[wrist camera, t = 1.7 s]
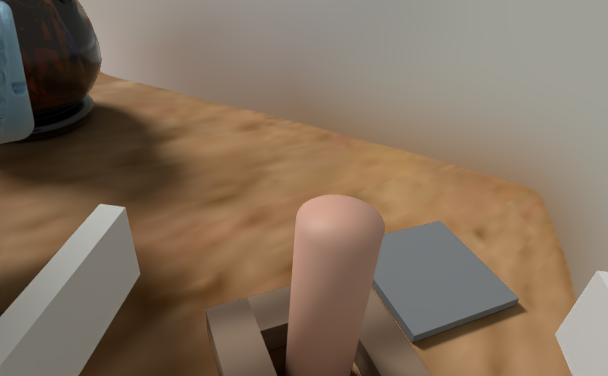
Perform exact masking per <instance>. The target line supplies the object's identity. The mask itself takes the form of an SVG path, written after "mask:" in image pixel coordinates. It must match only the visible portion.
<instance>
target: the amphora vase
mask: <svg viewBox="0 0 608 376" xmlns="http://www.w3.org/2000/svg"><path fill="white" fill-rule="evenodd" d="M0 1H3V2H5V3H6V4H8V5H9V6H10V8H11V10H12V14H13V19H14V23H15V28H16V33H17V38H18V43H19V48H20V53H21V58H22V63H23V68H24V74H25V79H26V84H27V89H28V94H29V99H30V104H31V109H32V113H33V118H34V129H33V131H32V133H31V134H30V135H29V136H28V137H26V138H24V139H22V140H18V141H24V140H35V139H42V138H47V137H51V136H55V135H59V134H61V133H64V132H67V131H69V130H72V129H74V128H76V127H77V126H79V125H81V124H82V123H84V122H85V121H86V120H87V119H88V118H89V117H90V116H91V115H92V113H93V110H94V102H93V99H92V98H91V97H90V96H89V95H88V93H89V91H90V90H91V89H92V87H93V85H94V83H95V81H96V78H97V76H98V74H99V72H100V67H101V60H102V59H101V53H100V47H99V42H98V40H97V37H96V35H95V32H94V30H93V27H92V24H91V22H90V20H89V18H88V16H87V15H86V12H85V11H84V9H83V7H82V6H81V4H80V3H79V1H78V0H0Z"/></svg>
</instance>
